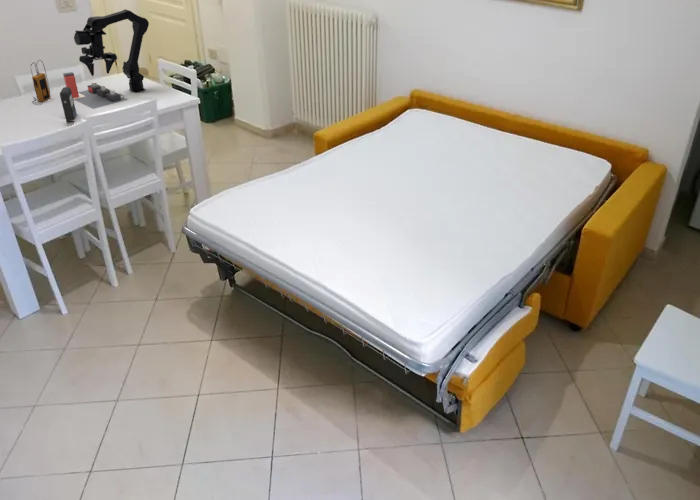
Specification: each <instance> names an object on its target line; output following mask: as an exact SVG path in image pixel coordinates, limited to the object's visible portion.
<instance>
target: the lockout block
mask: <svg viewBox="0 0 700 500" xmlns="http://www.w3.org/2000/svg"><path fill="white" fill-rule="evenodd" d="M62 74H63V79H64V84H65V87H69V88H71V92H72V96H73V98H76V97H79V94H78V92H79V90H78V86H77V82H76V77H75V73H74V72H73V71H72V72H63V73H62Z"/></svg>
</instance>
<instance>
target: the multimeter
mask: <svg viewBox="0 0 700 500" xmlns="http://www.w3.org/2000/svg"><path fill="white" fill-rule="evenodd" d="M39 61H41V63H42V65H43V69H44V72H45V73H42V72H39V69H38V63H39ZM33 64H34V62H32V63H31V64H30V66H32V65H33ZM34 66H35V71H36V74H35V75H34V74H33V71H32V69H30V71H31V75H32V77H31V79H32V82H33V88H34V90H35V91H34V92H35V95H36V96H31V97H32V98H33V99H35V100H33V102H32V104H33V105H36V103H35V101H37V102H45V101H47V100H48V99H51V90H50V85H49V80H48V76H47V72H46V68H45V64H44V62H43V61H42V60H41V59H39V60H37V61H36V63H35V64H34Z"/></svg>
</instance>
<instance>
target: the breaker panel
mask: <svg viewBox="0 0 700 500" xmlns="http://www.w3.org/2000/svg"><path fill="white" fill-rule="evenodd" d="M78 94H79V97H76V98H73V100H74V101H76V102H78V103H81V104H82V105H84V106H86V107H89V108H91V109H92V110H93V109H98V108H102V107H105V106H110V105H115V104H117V103H120V102H121V103H122V102H124V101H129V99H127V98H125V97H124V96H123V95H121V94H120V93H118V92H116V90H114V89H108V88H107V87H106V86H105V85H100V84H98V83H97V82H96V81H91V84H90V85H89V84H88V85H87V90H83V91H78Z"/></svg>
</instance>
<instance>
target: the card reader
mask: <svg viewBox="0 0 700 500" xmlns="http://www.w3.org/2000/svg"><path fill="white" fill-rule="evenodd" d="M59 97H60V102H61V104H62V105H61V106H62V109H63V114H64V118H65V121H66V122H67V123H70V124H71V123H74V122H75V121H74V120H76V117H77V116H78V114H77V110H76V109H77V108H76V105H75V100H73V96H72V92H71V88H69V87H66V86H64V87H63V88H62V89H61V91H60V92H59Z"/></svg>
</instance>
